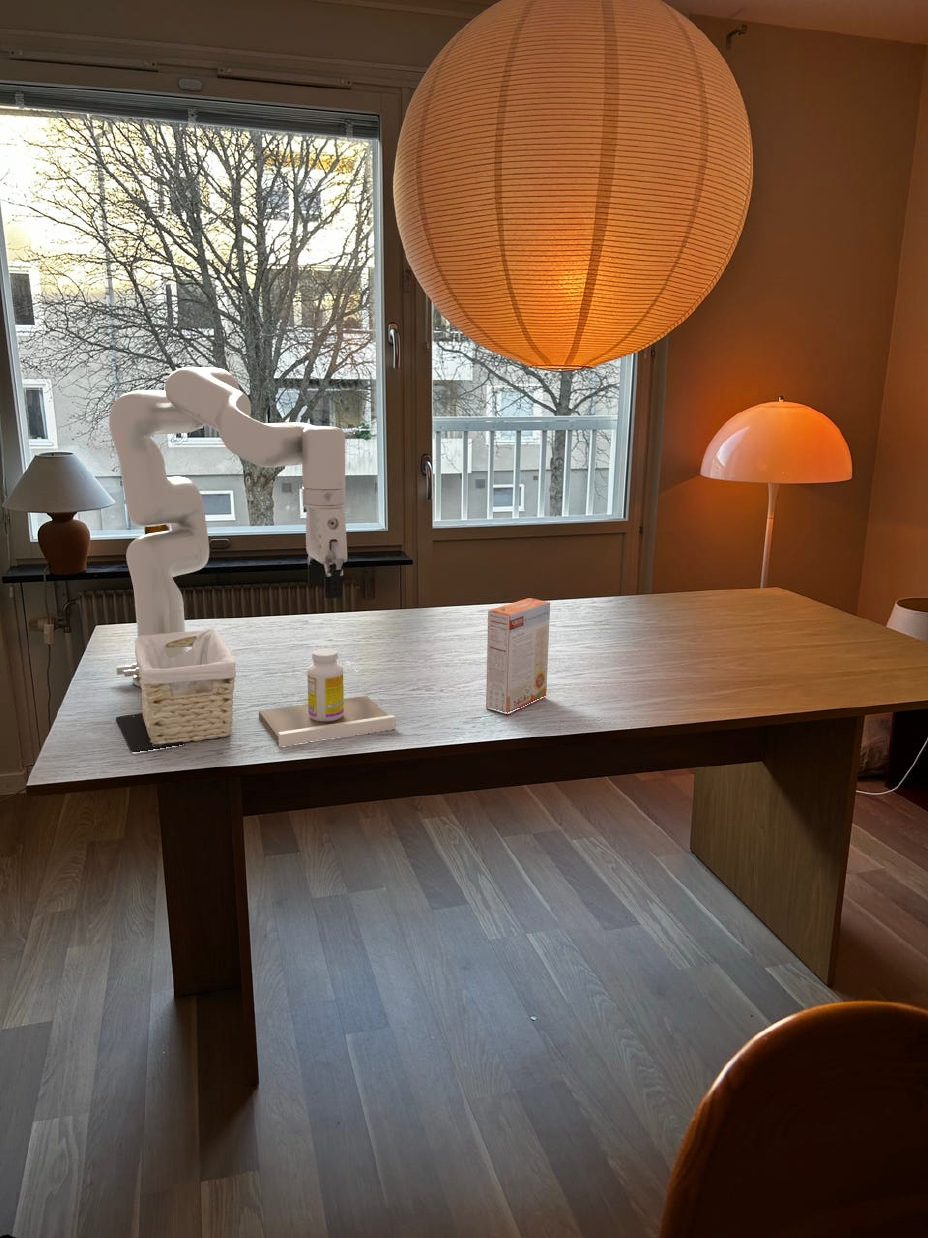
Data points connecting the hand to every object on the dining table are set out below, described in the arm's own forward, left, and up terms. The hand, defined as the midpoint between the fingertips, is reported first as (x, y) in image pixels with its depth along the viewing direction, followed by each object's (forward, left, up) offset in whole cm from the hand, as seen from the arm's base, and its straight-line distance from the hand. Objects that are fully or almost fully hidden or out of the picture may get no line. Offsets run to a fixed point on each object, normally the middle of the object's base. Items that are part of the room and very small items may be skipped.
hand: (325, 591), depth 163 cm
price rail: (0, -7, -26) cm, 27 cm away
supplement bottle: (0, 0, -25) cm, 25 cm away
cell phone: (-31, +9, -27) cm, 42 cm away
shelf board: (0, +1, -26) cm, 26 cm away
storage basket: (-24, +12, -26) cm, 37 cm away
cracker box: (+39, -4, -26) cm, 47 cm away
